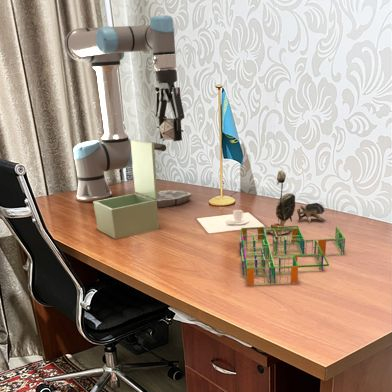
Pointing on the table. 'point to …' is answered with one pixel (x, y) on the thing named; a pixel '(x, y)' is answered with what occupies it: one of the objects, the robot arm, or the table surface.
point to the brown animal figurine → (311, 211)
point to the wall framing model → (295, 239)
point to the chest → (126, 215)
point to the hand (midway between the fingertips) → (170, 139)
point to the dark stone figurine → (283, 206)
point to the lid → (145, 167)
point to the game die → (167, 129)
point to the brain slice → (171, 198)
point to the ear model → (229, 222)
